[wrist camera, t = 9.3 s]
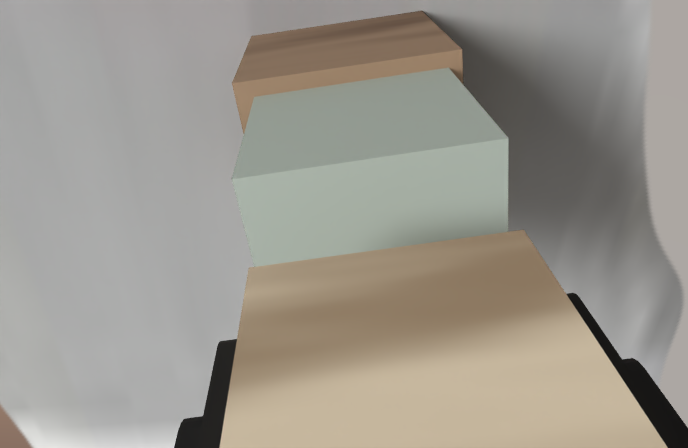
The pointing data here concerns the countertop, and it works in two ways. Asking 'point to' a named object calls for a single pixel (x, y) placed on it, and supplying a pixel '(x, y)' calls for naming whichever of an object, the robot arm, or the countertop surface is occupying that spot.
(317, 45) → the walnut base block
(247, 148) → the sage top block
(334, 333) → the ash block
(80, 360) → the countertop surface
